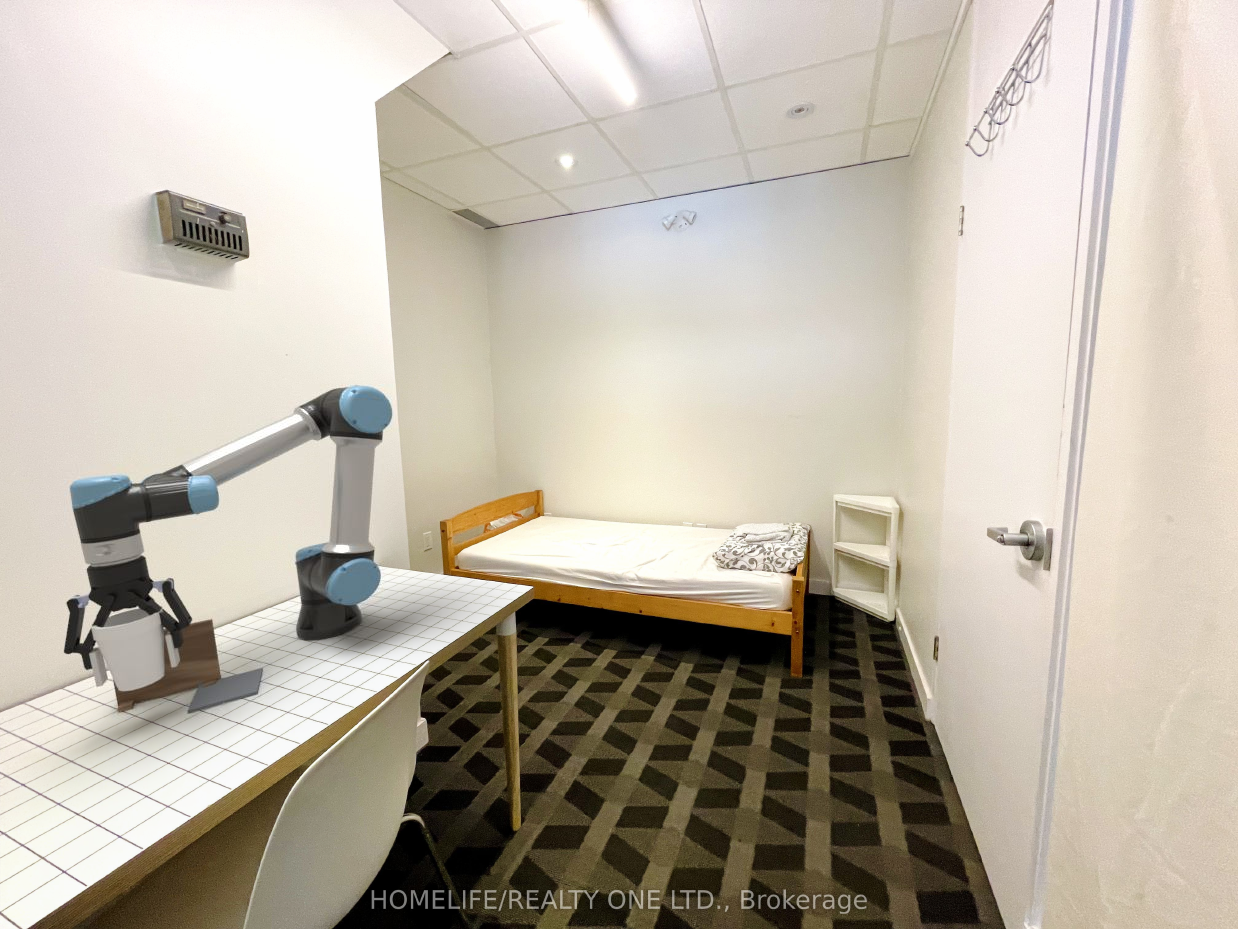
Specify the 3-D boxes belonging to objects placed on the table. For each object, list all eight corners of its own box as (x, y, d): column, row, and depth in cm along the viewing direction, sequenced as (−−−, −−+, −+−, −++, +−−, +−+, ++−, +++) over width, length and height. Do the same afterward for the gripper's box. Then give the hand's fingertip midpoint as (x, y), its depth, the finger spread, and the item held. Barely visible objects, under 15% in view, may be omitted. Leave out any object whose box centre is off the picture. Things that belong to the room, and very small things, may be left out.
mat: (199, 687, 102) (199, 684, 102) (262, 670, 108) (262, 667, 108) (187, 713, 93) (187, 710, 93) (257, 693, 99) (257, 691, 99)
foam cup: (186, 671, 93) (174, 608, 91) (125, 700, 84) (110, 631, 82) (156, 664, 96) (144, 603, 94) (94, 691, 87) (79, 625, 86)
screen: (123, 700, 98) (112, 636, 96) (222, 675, 106) (213, 615, 105) (114, 713, 94) (102, 646, 92) (218, 685, 102) (209, 624, 101)
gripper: (13, 581, 78) (44, 706, 81) (191, 551, 89) (211, 662, 93) (36, 568, 84) (64, 684, 87) (199, 542, 96) (218, 646, 99)
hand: (140, 673), depth 90 cm, fingers closed on foam cup, 9 cm apart
